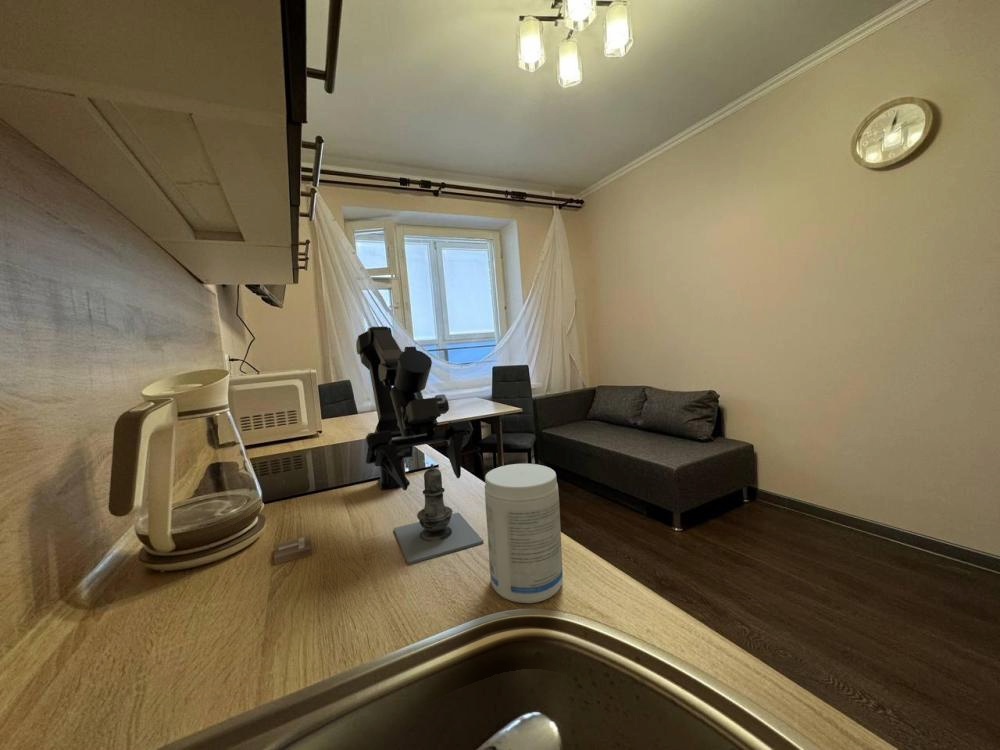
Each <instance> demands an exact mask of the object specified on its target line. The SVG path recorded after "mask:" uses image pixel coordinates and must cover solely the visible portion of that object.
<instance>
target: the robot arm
mask: <svg viewBox="0 0 1000 750" xmlns="http://www.w3.org/2000/svg"><path fill="white" fill-rule="evenodd" d="M355 347H356V348H355V349H356V353H357V355H359V358H360V363H361V364H362V365H363V366H364V367H365V368H366V369H367V370H368V371H369V375H370V376H369V377H370V382H371V386H372V391H373V392H372V393H373V397H374V403H375V408H376V409H375V410H376V413H377V419H378V422H377V425H375V426H376V427H375V429H374V430H375V431H374V432H370V433H368V434H367V435H366V437H365V438H364V447H363V455H364V460H365V463H366V464H367V465H370V464H374V466H375V467H379V475H380V478H379V479H377V483H378V486H379V488H380V490H382V491H383V490H388V489H393V488H398V487H401V489H402V490H403V491H407V489H408V486H409V485H410V484H411V483H410V481H409V479H408V478H407V476H406V463H405V458H406V459H407V458H412V457H413V448H414V447H418V446H425V445H431V444H435V443H436V444H437V443H442V442H444V445H445V447H446V448H447V449H446V455H447V458H448V460H449V463H450V465H451V468H452V470H453V474H454V475H455V477H456V479H460V478H461V476H462V466H461V465H462V463H461V462H462V455H461V454H462V450H463V447H465V446H467V444H468V442H469V440H470V438H471V436H472V434H473V433H474V428H473V426H472V423H471V421H470V420H469V419H459V420H452V421H448V423H447V426H446V428H445V429H442V430H437V431H435V429H434V428H436V427H438V424H439V422H438V418H440V417H441V416H442V415H445V414H446V413H447V412H449V410H450V406H449V405H450V404H449V401H448V399H447V396H446V394H445V393H444V394H436V395H434V397H429V398H428V397H427V398H424V396H423V393H422V391H423V390H425V389H426V386H427V382H428V379H429V375H430V372H431V368H432V364H433V363H432V362H433V360H432V358H431V356H429V355H428V354H426V353H425V352H423V351H420V350H417V347H416V346H405V347H404V350H403V351H402V350H401V348H400V346H399V345H398V343H397V341H396V339H395V338H394V336H393V332H392V328H391V327H388V326H371V327H368V328H367V331H365V332H363V333H361V334H358V336H357V339H356V344H355Z"/></svg>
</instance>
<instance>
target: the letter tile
mask: <svg viewBox="0 0 1000 750" xmlns="http://www.w3.org/2000/svg"><path fill="white" fill-rule="evenodd" d="M312 555H313V554H312V539H311V534H308V535H305V536H301V537H300V536H299V537H297V538H296V537H295V538H291V539H289V540H288V539H287V540H284V541H281V542H275V548H274V556H273V560H274V565H278V564H281V563H286V562H289V561H292V560H296V559H301V558H304V557H307V556H312Z"/></svg>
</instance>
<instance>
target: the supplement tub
mask: <svg viewBox="0 0 1000 750" xmlns="http://www.w3.org/2000/svg"><path fill="white" fill-rule="evenodd" d="M484 481H485V482H484V483H485V484H484V500H485V514H486V518H485V519H486V526H487V527H486V529H487V544H488V545H487V546H488V559H489V560H488V561H489V572H490V573H489V574H490V576H489V577H490V582H491V586H492V588H493V590H494V591H495V592H496V593H497V594H498V595H499V596H500V597H502V598H503V599H506V600H508V601H511V602H515V603H520V604H522V603H523V604H534V603H540V602H543V601H546V600H547V599H550V598H551V597H553V596H554V595H556V593H558V591H559V590H560V588H561V587H562V584H563V579H564V575H563V572H564V571H563V555H562V554H563V552H562V551H563V549H562V533H561V532H562V531H561V530H562V529H561V513H560V512H561V510H560V509H561V508H560V496H559V495H560V494H559V484H558V482H557V473H556V471H555V470H554V469H552V468H551V467H548V466H546V465H541V464H538V463H535V464H534V463H514V464H513V463H512V464H506V465H502V466H499V467H496V468H493V469H491V470H489V471H488V472H487V473H486V474H485V476H484Z"/></svg>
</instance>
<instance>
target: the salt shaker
mask: <svg viewBox="0 0 1000 750" xmlns="http://www.w3.org/2000/svg"><path fill="white" fill-rule="evenodd" d="M429 466H430V468H429V469H427V470H426V471H425V472H424V473H423V481H424V482H423V483H424V484H423V485H424V489H423V490H422V494H423V496H424V508H423V509H420V511H418V512H417V514H416V517H417V519H418V522H420V524H421V526H422V527H423V528H424V530H423V531H422V532H421V534H420V538H421V539H422V540H424V541H428V542H436V541H441V540H444V539H446V538H448V537H449V536H450V535H451V534H452V530H451V528H449V527H447V525H448V524H449V522H450V519H451V515H452V514H453V509H452V508H451V507H450V506H446V505H445V502H444V493H445V488H444V487H443V480H442V479H443V478H442V472H441V470H440V469H438V468H435V465H434V464H433V463H431V464H430V465H429Z"/></svg>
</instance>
